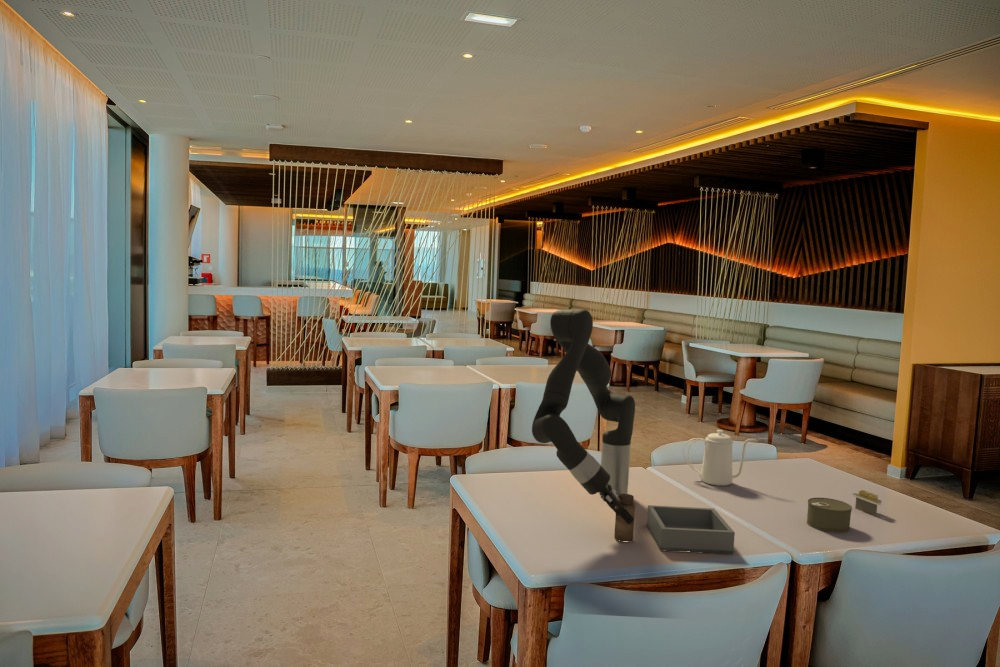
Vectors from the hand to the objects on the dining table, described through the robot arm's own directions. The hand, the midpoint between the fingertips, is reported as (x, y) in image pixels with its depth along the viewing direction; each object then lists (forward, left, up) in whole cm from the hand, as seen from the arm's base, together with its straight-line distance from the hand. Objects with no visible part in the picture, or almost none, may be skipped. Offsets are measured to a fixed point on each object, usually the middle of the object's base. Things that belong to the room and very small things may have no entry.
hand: (628, 516), depth 196 cm
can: (-19, +63, -7) cm, 66 cm away
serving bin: (-2, +17, -6) cm, 18 cm away
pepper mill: (0, -1, -6) cm, 7 cm away
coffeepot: (-60, +42, -7) cm, 74 cm away
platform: (-34, +82, -7) cm, 89 cm away
